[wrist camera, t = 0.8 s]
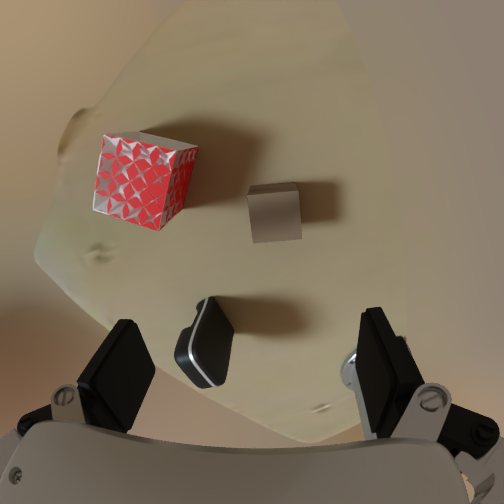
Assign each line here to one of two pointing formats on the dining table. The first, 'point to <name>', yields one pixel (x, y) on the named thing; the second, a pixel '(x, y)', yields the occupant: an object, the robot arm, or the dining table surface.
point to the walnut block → (274, 212)
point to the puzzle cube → (143, 177)
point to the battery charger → (206, 346)
